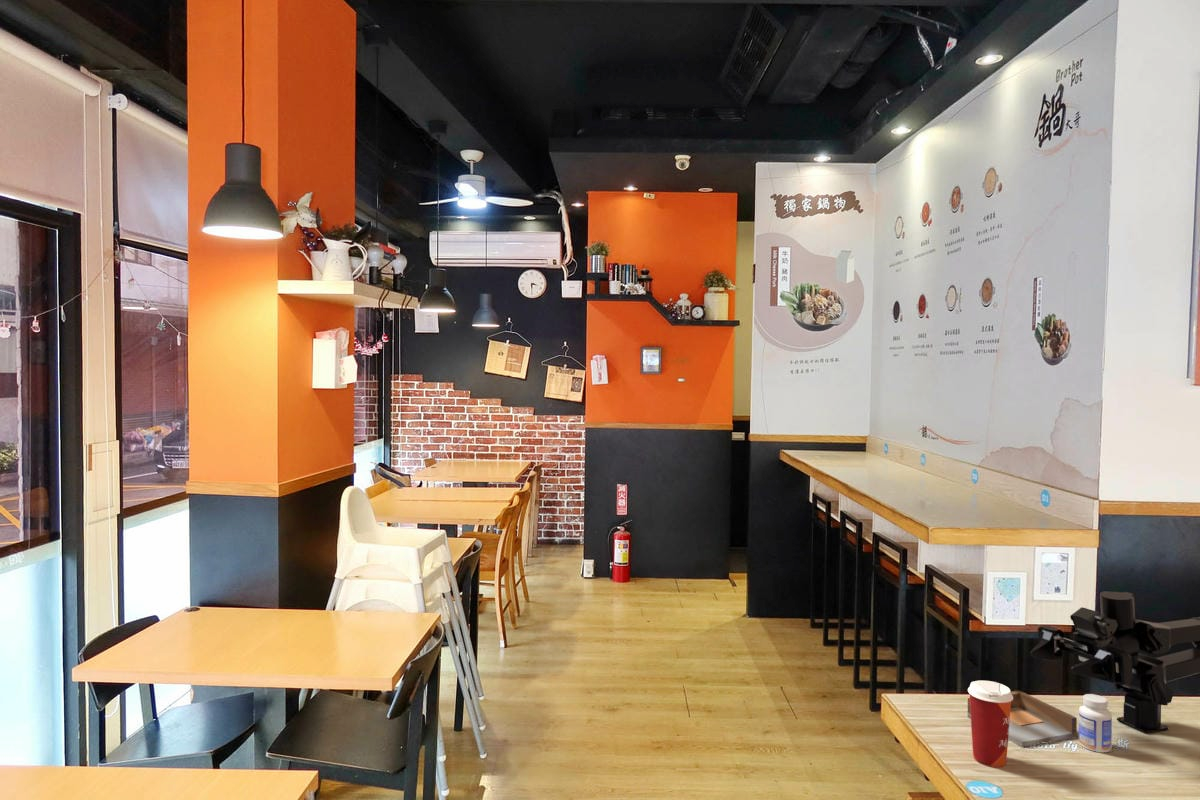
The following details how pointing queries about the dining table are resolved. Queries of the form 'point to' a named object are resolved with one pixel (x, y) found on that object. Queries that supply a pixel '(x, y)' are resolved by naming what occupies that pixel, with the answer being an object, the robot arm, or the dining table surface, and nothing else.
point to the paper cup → (990, 721)
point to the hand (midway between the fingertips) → (1050, 662)
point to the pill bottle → (1095, 724)
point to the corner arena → (1037, 721)
